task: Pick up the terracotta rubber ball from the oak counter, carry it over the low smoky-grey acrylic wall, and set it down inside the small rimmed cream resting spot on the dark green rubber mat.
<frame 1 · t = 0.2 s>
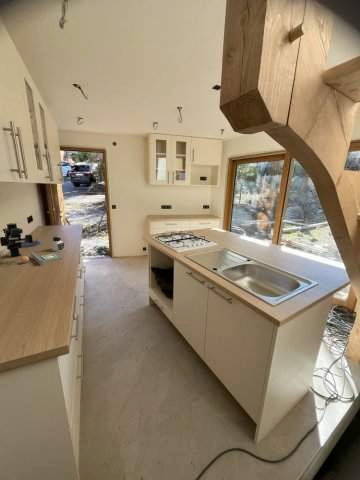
hand: (19, 242, 146), 17 cm above the table, tool horizontal, fingers open, 9 cm apart
resting mat: (49, 257, 166), on the table
medicine bottle: (58, 249, 186), on the table
ball: (24, 259, 154), point 2 cm above the table
acrylic wall: (36, 260, 159), on the table
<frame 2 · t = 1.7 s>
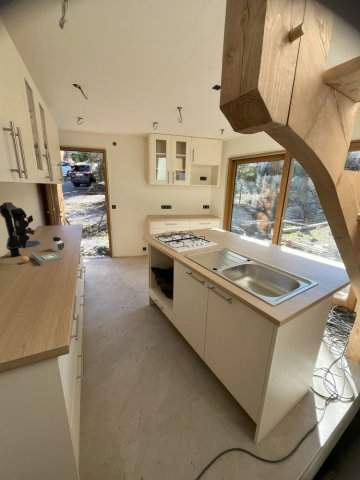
hand: (22, 246, 151), 13 cm above the table, tool pointing down, fingers open, 9 cm apart
nothing on the table moved.
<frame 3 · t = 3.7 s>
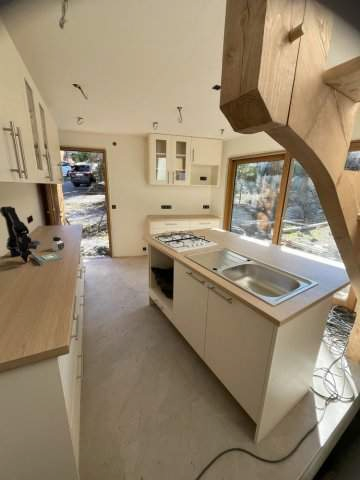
hand: (25, 261, 154), 1 cm above the table, tool pointing down, fingers closed on ball, 5 cm apart
ball: (24, 259, 154), point 2 cm above the table, touching gripper
everything else where it was.
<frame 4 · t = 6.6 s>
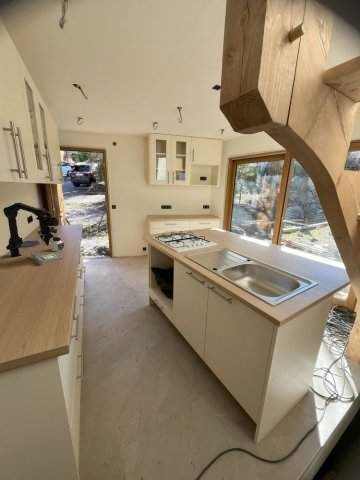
hand: (46, 244, 162), 11 cm above the table, tool pointing down, fingers closed on ball, 5 cm apart
ball: (46, 242, 162), point 13 cm above the table, touching gripper
everything else where it was.
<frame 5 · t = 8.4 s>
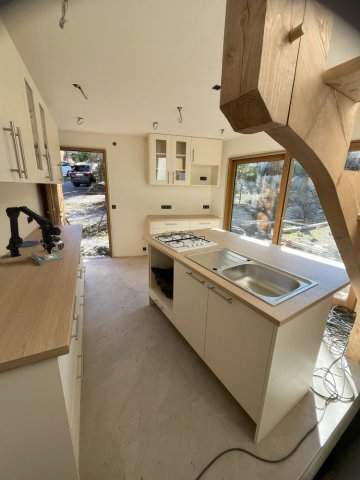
hand: (48, 253, 165), 4 cm above the table, tool pointing down, fingers closed on ball, 5 cm apart
ball: (48, 251, 165), point 5 cm above the table, touching gripper
everything else where it was.
when the fingers open (2 cm above the table, at t = 9.6 s): ball stays where it is, resting on resting mat.
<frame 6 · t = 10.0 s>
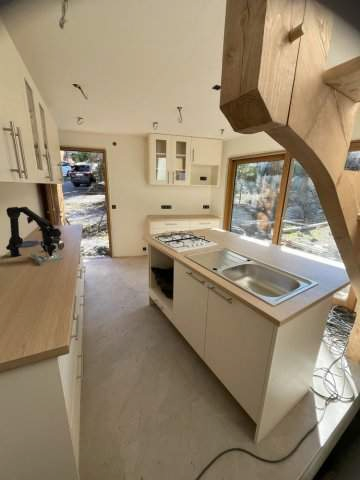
hand: (49, 255, 165), 2 cm above the table, tool pointing down, fingers open, 9 cm apart
ball: (49, 254, 165), point 3 cm above the table, touching resting mat
everything else where it was.
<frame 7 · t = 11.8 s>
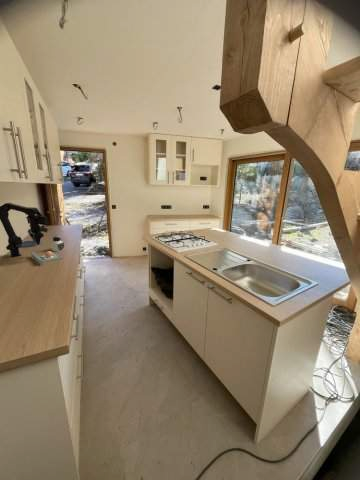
hand: (36, 243, 164), 12 cm above the table, tool pointing down, fingers open, 9 cm apart
nothing on the table moved.
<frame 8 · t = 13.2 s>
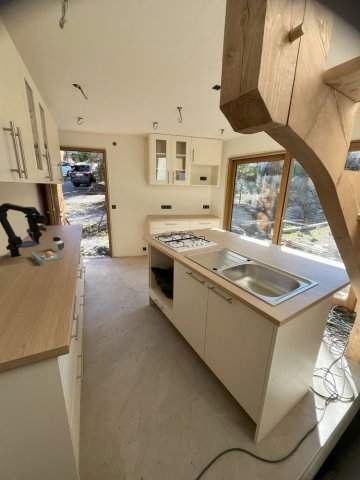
hand: (35, 242, 164), 12 cm above the table, tool pointing down, fingers open, 9 cm apart
nothing on the table moved.
at the end: ball 0.1 cm off-centre on the resting mat, point 3.0 cm above the resting mat's base; the gripper is holding nothing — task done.
